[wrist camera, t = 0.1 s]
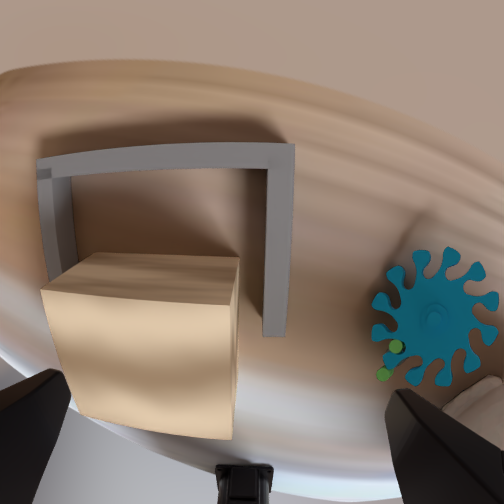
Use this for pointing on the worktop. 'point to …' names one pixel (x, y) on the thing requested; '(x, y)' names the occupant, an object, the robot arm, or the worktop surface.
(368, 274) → the worktop surface
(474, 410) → the ceramic pitcher
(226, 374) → the oak block
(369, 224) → the worktop surface
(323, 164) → the worktop surface
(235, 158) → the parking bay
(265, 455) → the worktop surface
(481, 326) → the gear
